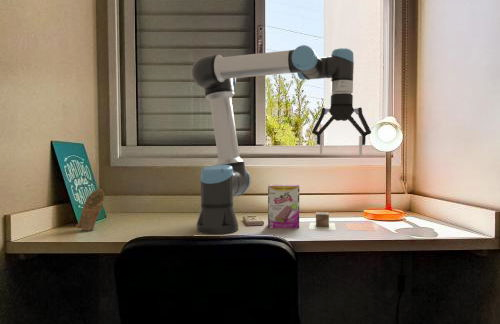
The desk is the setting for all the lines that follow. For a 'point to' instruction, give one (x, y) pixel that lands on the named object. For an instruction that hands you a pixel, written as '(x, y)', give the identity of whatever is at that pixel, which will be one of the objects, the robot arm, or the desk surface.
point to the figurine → (91, 210)
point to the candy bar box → (283, 206)
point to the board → (350, 227)
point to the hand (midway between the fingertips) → (340, 154)
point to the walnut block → (322, 219)
